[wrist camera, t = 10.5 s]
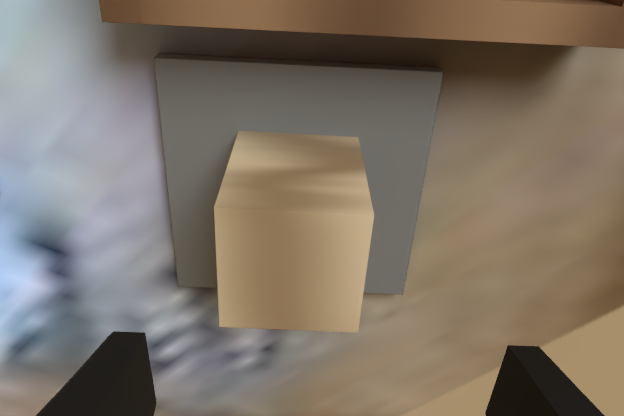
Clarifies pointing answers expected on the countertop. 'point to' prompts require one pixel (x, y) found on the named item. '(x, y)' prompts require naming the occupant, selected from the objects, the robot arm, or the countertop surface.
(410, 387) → the countertop surface
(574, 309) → the countertop surface
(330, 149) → the maple block
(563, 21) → the slot box
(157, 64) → the mat
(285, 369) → the countertop surface
